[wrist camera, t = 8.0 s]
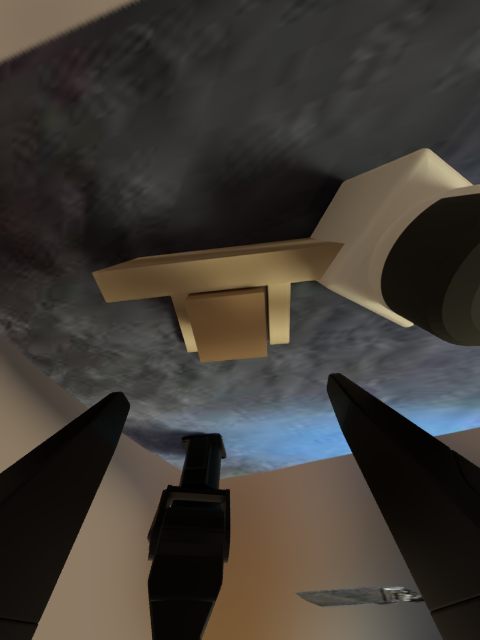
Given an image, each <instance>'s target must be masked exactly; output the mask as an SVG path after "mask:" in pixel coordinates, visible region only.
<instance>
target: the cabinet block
mask: <svg viewBox="0 0 480 640" xmlns="http://www.w3.org/2000/svg"><path fill="white" fill-rule="evenodd" d="M184 301H185V305H186V309H187V312H188V316H189V320H190V324H191V327H192V331H193V335H194V338H195V342H196V346H197V350H198V353H199V357H200V361H201V362H210V361H222V360H233V359H244V358H255V357H266V356H267V339H266V317H265V295H264V290H263V288H262V286H255V287H246V288H237V289H227V290H218V291H209V292H199V293H190V294H189V295H188V296H187V298H186V299H185V300H184Z"/></svg>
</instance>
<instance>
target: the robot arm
mask: <svg viewBox="0 0 480 640" xmlns="http://www.w3.org/2000/svg"><path fill="white" fill-rule="evenodd" d="M327 393H328V396H329V398H330V401H331V404H332V406H333V409H334V412H335V415H336V417H337V420H338V423H339V425H340V428H341V430H342V432H343V435H344V437H345V439H346V441H347V443H348V445H349V447H350V449H351V451H352V453H353V455H354V457H355V459H356V461H357V463H358V465H359V468H360V469H361V472H362V474H363V476H364V478H365V480H366V482H367V484H368V486H369V488H370V490H371V492H372V494H373V496H374V498H375V500H376V503H377V505H378V507H379V509H380V511H381V513H382V515H383V517H384V519H385V521H386V523H387V525H388V527H389V529H390V531H391V533H392V535H393V537H394V540H395V542H396V544H397V546H398V548H399V550H400V552H401V554H402V556H403V558H404V560H405V562H406V564H407V566H408V568H409V570H410V572H411V574H412V576H413V579H414V581H415V583H416V585H417V587H418V589H419V591H420V593H421V595H422V597H423V599H424V601H425V603H426V605H427V607H428V609H429V611H431V612H430V614H431V616H432V618H433V620H434V622H435V624H436V626H437V628H438V630H439V632H440V634H441V637H442V638H443V640H480V468H479V467H478V466H476V465H475V464H473V463H471V462H470V461H469V460H467V459H466V458H464V457H463V456H461V455H460V454H458V453H457V452H455V451H454V450H451V449H450V448H449V447H448V446H446V445H445V444H443V443H442V442H441V441H439V440H438V439H436V438H435V437H433V436H432V435H430V434H429V433H427V432H426V431H424V430H423V429H421V428H420V427H418V426H417V425H416V424H414V423H413V422H411V421H410V420H408V419H407V418H405V417H404V416H402V415H401V414H399V413H398V412H396V411H395V410H393V409H392V408H391V407H389V406H388V405H386V404H385V403H383V402H382V401H380V400H379V399H377V398H376V397H374V396H373V395H371V394H370V393H368V392H367V391H366V390H364V389H363V388H361V387H360V386H358V385H357V384H355V383H354V382H352V381H351V380H349V379H348V378H346V377H345V376H343V375H342V374H340V373H333V374H330V375H329V377H328V383H327ZM129 409H130V404H129V402H128V400H127V398H126V397H125V395H124V393H123V392H113V393H110V394H109V395H108V396H106V397H105V398H103V399H102V400H101V401H99V402H98V403H97V404H95V405H94V406H92V407H91V408H90V409H88V410H87V411H86V412H84V413H83V414H81V415H80V416H79V417H77V418H76V419H75V420H73V421H72V422H70V423H69V424H68V425H66V426H65V427H64V428H62V429H61V430H59V431H58V432H57V433H55V434H54V435H53V436H51V437H50V438H48V439H47V440H46V441H44V442H43V443H42V444H40V445H39V446H37V447H36V448H35V449H33V450H32V451H31V452H29V453H28V454H26V455H25V456H24V457H22V458H21V459H20V460H18V461H17V462H16V463H14V464H13V465H11V466H10V467H9V468H7V469H6V470H4V471H3V472H2V473H0V640H32V637H33V635H34V633H35V630H36V628H37V626H38V622H39V621H40V619H41V617H42V614H43V612H44V610H45V608H46V605H47V603H48V601H49V599H50V596H51V594H52V592H53V590H54V587H55V585H56V583H57V580H58V578H59V576H60V574H61V571H62V569H63V567H64V565H65V562H66V560H67V558H68V555H69V553H70V550H71V549H72V546H73V544H74V542H75V540H76V538H77V535H78V533H79V531H80V529H81V526H82V524H83V522H84V519H85V517H86V515H87V513H88V510H89V508H90V506H91V503H92V501H93V499H94V497H95V495H96V492H97V489H98V488H99V485H100V483H101V481H102V479H103V476H104V474H105V472H106V470H107V467H108V465H109V463H110V461H111V458H112V456H113V454H114V451H115V449H116V447H117V444H118V441H119V438H120V435H121V433H122V430H123V427H124V424H125V421H126V418H127V415H128V412H129ZM182 444H183V446H184V448H185V451H186V457H185V462H184V466H183V470H182V475H181V479H180V484H179V486H172V485H168V487H167V489H166V490H163V492H162V496H161V499H160V503H159V506H158V509H157V512H156V514H155V517H154V520H153V522H152V525H151V528H150V530H149V533H148V537H147V539H148V541H149V544H150V545H149V556H148V560H151V561H153V562H152V566H151V570H150V574H149V579H148V594H149V604H150V616H151V629H152V640H201V639H202V637H203V634H204V631H205V628H206V626H207V623H208V621H209V618H210V615H211V612H212V610H213V607H214V605H215V602H216V599H217V597H218V594H219V591H220V589H221V586H222V580H223V563H227V562H228V557H229V548H230V489H226V490H221V489H219V480H220V466H221V459H225V458H226V452H225V448H224V444H223V440H222V436H221V435H208V436H195V437H183V438H182ZM170 505H171V507H170Z"/></svg>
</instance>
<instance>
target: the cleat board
mask: <svg viewBox="0 0 480 640" xmlns="http://www.w3.org/2000/svg"><path fill="white" fill-rule="evenodd" d="M343 246H344V244H343V243H337V242H331V241H325V240H319V239H313V238H303V239H294V240H285V241H277V242H268V243H260V244H251V245H243V246H234V247H225V248H217V249H208V250H200V251H191V252H183V253H174V254H165V255H157V256H148V257H140V258H136V259H133V260H130V261H127V262H124V263H120V264H117V265H114V266H111V267H108V268H105V269H102V270H99V271H95V272H92V274H93V276H94V278H95V280H96V282H97V284H98V286H99V288H100V290H101V292H102V295H103V297H104V299H105V301H106V302H115V301H125V300H134V299H143V298H153V297H162V296H171V298H172V301H173V304H174V308H175V311H176V314H177V318H178V321H179V324H180V327H181V331H182V334H183V337H184V341H185V344H186V347H187V351H188V352H196V351H198V350H197V346H196V342H195V338H194V335H193V331H192V327H191V324H190V320H189V316H188V312H187V309H186V305H185V301H184V300H185V299H186V298H187V296H188V295H189V294H190V293H199V292H209V291H218V290H227V289H237V288H246V287H255V286H262V288H263V290H264V295H265V317H266V339H267V341H268V338H269V342H270V345H271V344H281V343H289V322H290V283H293V282H302V281H311V280H321V278H322V276H323V275H324V273H325V272H326V271H327V269H328V268H329V266H330V265H331V263H332V262H333V260H334V259H335V257H336V256H337V254H338V253H339V251H340V250H341V248H342V247H343Z"/></svg>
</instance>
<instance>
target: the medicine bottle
mask: <svg viewBox="0 0 480 640" xmlns="http://www.w3.org/2000/svg"><path fill="white" fill-rule="evenodd" d="M310 238H313V239H319V240H325V241H331V242H337V243H343V244H344V246H343V247H342V248H341V250H340V251H339V253H338V254H337V256H336V257H335V259H334V260H333V262H332V263H331V265H330V266H329V268H328V269H327V271H326V272H325V273H324V275H323V276H322V278H321V280H316V281H318V282H319V283H321V284H322V285H323V286H325V287H326V288H328V289H330V290H332V291H334V292H336V293H338V294H340V295H342V296H344V297H346V298H348V299H350V300H352V301H354V302H355V303H357V304H359V305H361V306H363V307H365V308H367V309H369V310H371V311H373V312H375V313H377V314H379V315H381V316H383V317H385V318H387V319H389V320H391V321H393V322H395V323H397V324H399V325H401V326H403V327H410V326H412V325H413V324H415V325H417V326H419V327H421V328H422V329H424V330H426V331H428V332H430V333H431V334H433V335H435V336H437V337H439V338H440V339H442V340H444V341H446V342H449V343H452V344H456V345H462V346H480V184H478V185H472V184H471V183H470V182H469V181H467V180H466V179H465V178H464V177H463V176H461V175H460V174H459V173H458V172H456V171H455V170H454V169H453V168H452V167H450V166H449V165H448V164H447V163H446V162H444V161H443V160H442V159H441V158H439V157H438V156H437V155H436V154H435V153H433V152H432V151H431V150H430V149H426V148H425V149H421V150H418V151H416V152H413V153H411V154H409V155H406V156H404V157H401V158H399V159H397V160H394V161H392V162H389V163H387V164H385V165H382V166H380V167H378V168H375V169H373V170H370V171H368V172H366V173H363V174H361V175H358V176H356V177H354V178H351V179H349V180H346V181H344V182H343V183H342V184H341V186H340V188H339V189H338V191H337V193H336V195H335V196H334V198H333V200H332V201H331V203H330V205H329V206H328V208H327V210H326V211H325V213H324V215H323V217H322V218H321V220H320V222H319V223H318V225H317V227H316V228H315V230H314V232H313V233H312V235H311V237H310Z"/></svg>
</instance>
